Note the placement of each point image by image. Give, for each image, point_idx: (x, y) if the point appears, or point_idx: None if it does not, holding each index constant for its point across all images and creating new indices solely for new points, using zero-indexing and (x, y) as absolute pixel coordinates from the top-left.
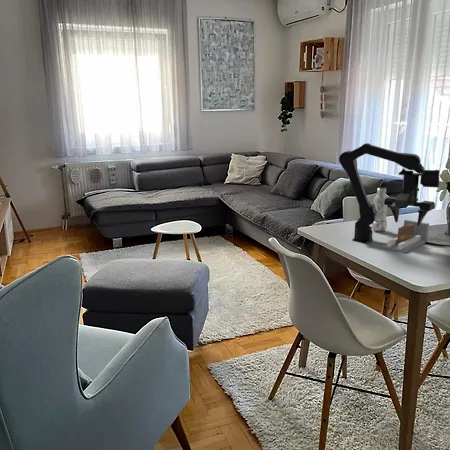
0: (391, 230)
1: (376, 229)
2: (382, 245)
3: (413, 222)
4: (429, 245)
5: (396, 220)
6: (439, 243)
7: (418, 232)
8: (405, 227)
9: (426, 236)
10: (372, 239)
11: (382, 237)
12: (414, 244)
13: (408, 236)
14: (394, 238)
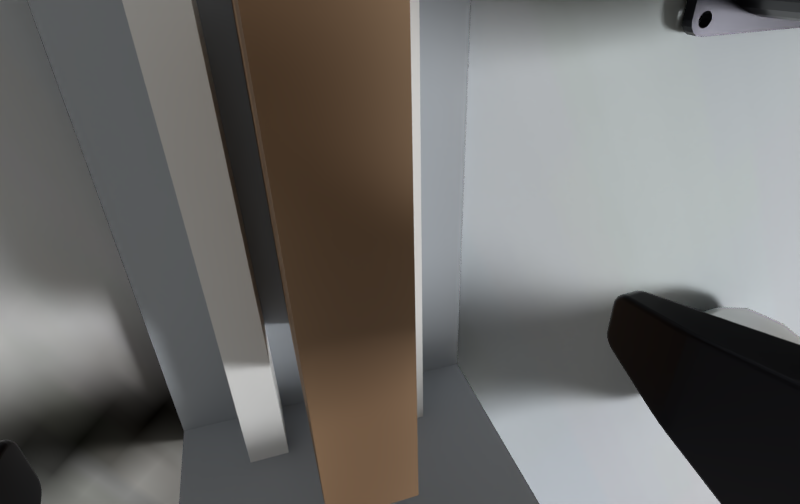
0: (609, 431)
1: (726, 314)
2: None
3: None
4: (82, 373)
5: (651, 322)
6: (80, 495)
7: (296, 472)
8: (302, 215)
9: (182, 475)
10: (691, 12)
11: (615, 217)
12: (145, 195)
13: (275, 242)
14: (419, 31)
